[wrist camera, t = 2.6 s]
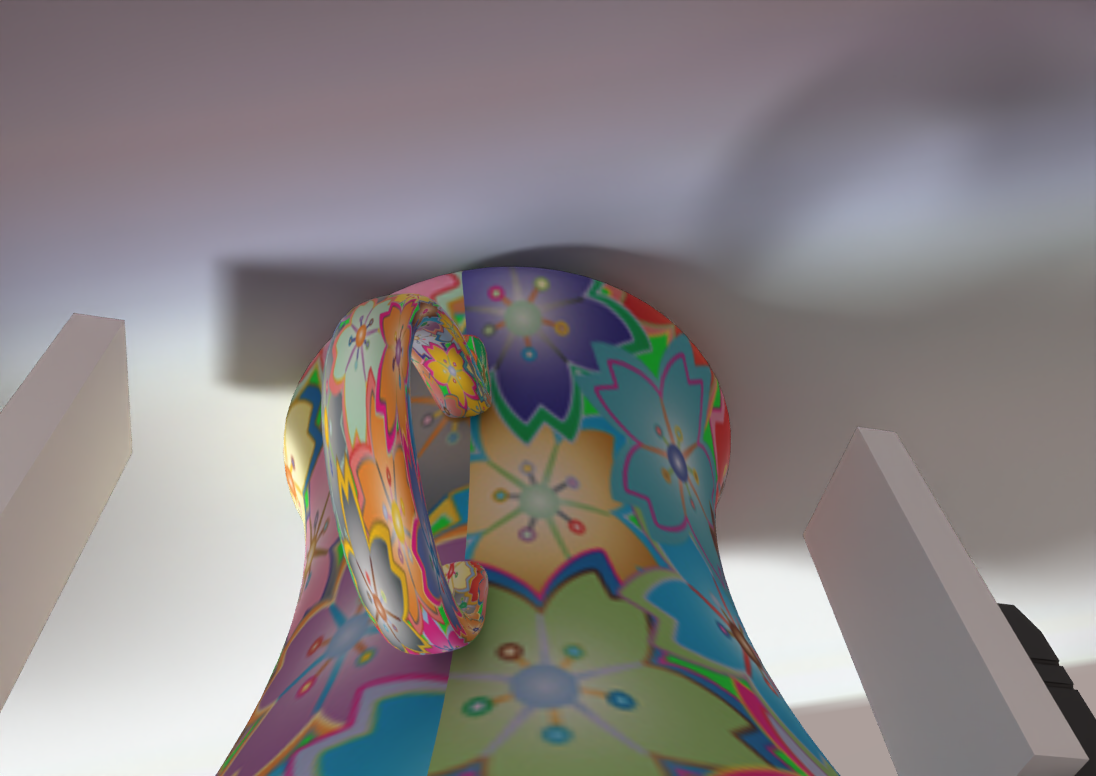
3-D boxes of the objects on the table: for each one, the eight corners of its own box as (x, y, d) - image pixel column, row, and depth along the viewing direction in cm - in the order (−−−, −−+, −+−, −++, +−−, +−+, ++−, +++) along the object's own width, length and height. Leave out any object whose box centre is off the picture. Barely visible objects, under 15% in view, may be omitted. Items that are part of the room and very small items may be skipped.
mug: (748, 559, 21) (937, 1143, 12) (350, 621, 21) (257, 1228, 13) (718, 9, 14) (1109, 455, 5) (128, 121, 14) (-423, 701, 6)
